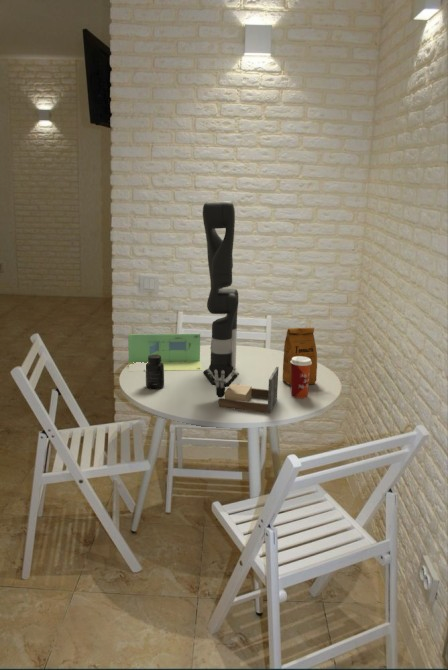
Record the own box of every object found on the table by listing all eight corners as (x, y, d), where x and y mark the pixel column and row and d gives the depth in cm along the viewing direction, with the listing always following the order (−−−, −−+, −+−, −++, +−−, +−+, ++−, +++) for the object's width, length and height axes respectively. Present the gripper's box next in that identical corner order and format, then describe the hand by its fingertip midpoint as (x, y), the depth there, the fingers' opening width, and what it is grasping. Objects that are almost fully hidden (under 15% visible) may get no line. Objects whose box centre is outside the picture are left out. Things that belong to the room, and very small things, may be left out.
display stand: (199, 361, 255) (200, 333, 252) (202, 370, 243) (202, 341, 240) (128, 362, 251) (128, 334, 248) (127, 372, 239) (127, 342, 236)
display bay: (228, 393, 218) (229, 361, 215) (276, 398, 214) (278, 366, 210) (218, 407, 205) (219, 374, 201) (269, 413, 200) (271, 379, 197)
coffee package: (318, 386, 227) (322, 330, 222) (287, 387, 225) (290, 331, 219) (310, 377, 237) (313, 324, 231) (280, 379, 234) (282, 324, 229)
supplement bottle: (146, 383, 226) (145, 353, 222) (164, 383, 226) (164, 353, 223) (145, 390, 219) (145, 358, 216) (164, 389, 220) (163, 358, 216)
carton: (230, 396, 215) (231, 383, 214) (251, 399, 213) (251, 386, 212) (224, 405, 207) (224, 392, 206) (245, 408, 205) (245, 394, 204)
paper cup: (304, 400, 212) (306, 363, 209) (284, 396, 216) (286, 359, 212) (313, 394, 219) (315, 358, 215) (294, 390, 222) (296, 354, 219)
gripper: (242, 349, 208) (241, 395, 213) (206, 345, 212) (205, 391, 216) (237, 354, 201) (235, 402, 206) (200, 351, 205) (199, 398, 209)
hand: (220, 396), depth 211 cm, fingers closed
